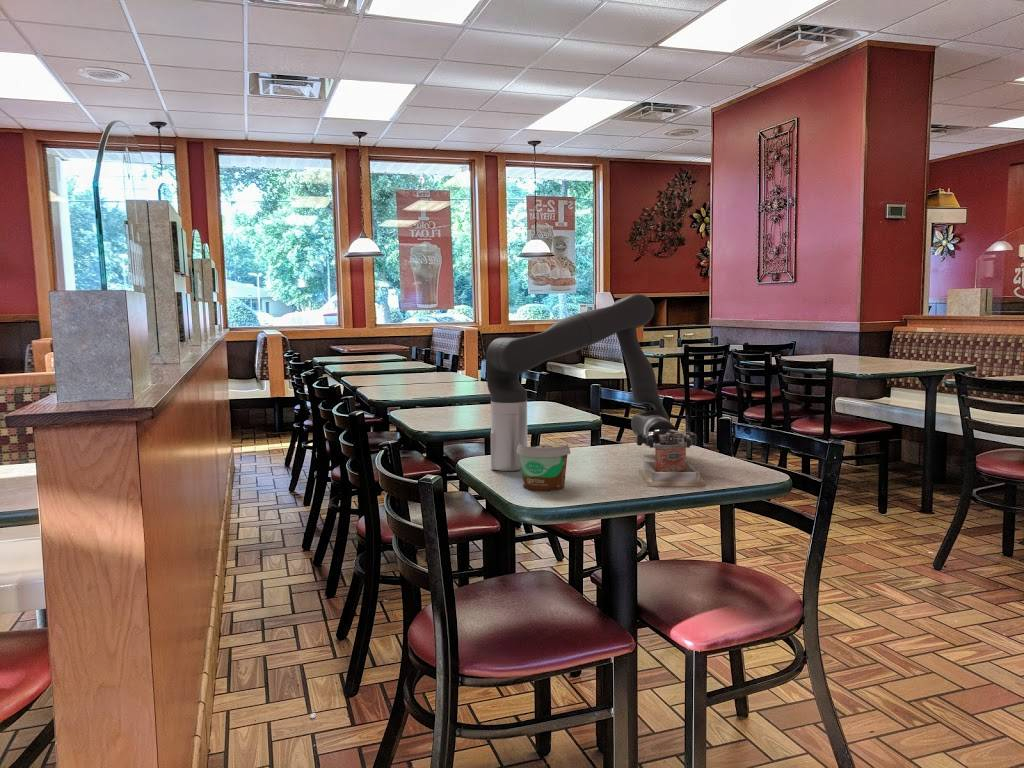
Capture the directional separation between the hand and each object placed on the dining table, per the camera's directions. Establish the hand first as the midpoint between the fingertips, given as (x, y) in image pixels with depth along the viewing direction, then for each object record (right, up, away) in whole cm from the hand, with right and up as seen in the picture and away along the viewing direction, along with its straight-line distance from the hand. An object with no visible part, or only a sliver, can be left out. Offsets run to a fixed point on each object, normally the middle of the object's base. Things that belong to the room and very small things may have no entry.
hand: (670, 443), depth 178 cm
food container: (-31, -10, -9) cm, 33 cm away
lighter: (0, -8, 0) cm, 8 cm away
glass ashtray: (0, -8, 0) cm, 9 cm away
